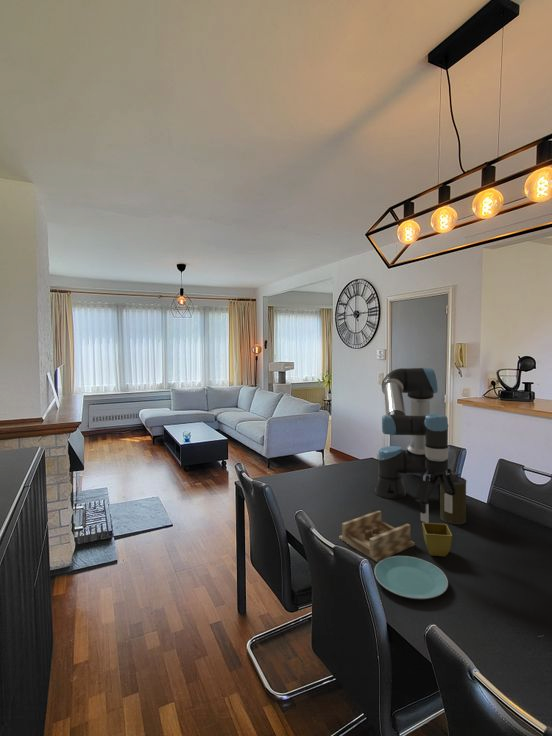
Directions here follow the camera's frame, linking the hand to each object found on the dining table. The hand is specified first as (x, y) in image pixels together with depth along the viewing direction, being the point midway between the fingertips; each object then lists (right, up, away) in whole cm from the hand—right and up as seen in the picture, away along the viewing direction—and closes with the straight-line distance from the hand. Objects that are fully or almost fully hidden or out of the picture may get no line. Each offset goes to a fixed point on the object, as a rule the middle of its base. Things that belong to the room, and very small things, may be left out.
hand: (436, 516), depth 139 cm
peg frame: (-19, -14, +10) cm, 26 cm away
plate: (-15, -15, -16) cm, 27 cm away
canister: (+18, -12, +27) cm, 35 cm away
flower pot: (0, -14, +1) cm, 14 cm away
